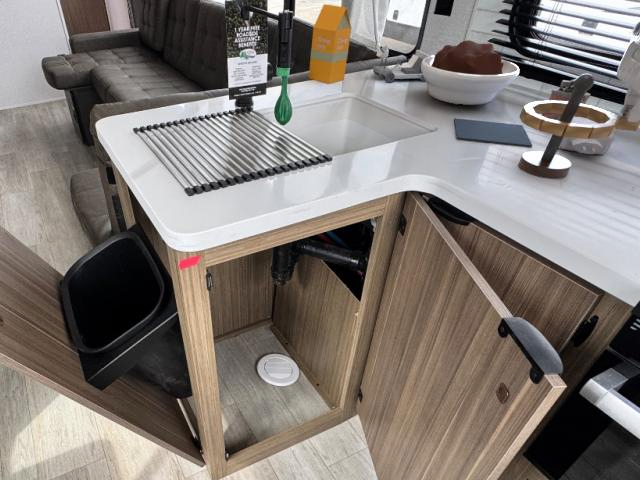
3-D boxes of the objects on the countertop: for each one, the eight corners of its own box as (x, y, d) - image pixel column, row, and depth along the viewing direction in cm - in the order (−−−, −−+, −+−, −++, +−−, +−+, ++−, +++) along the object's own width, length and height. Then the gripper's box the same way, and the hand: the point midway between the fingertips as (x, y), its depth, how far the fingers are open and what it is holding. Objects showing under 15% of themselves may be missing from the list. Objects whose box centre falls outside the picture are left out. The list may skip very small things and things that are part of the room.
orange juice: (323, 74, 146) (331, 3, 133) (344, 79, 141) (355, 6, 128) (308, 78, 142) (315, 5, 129) (329, 84, 137) (338, 8, 124)
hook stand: (561, 163, 92) (608, 70, 80) (571, 181, 86) (625, 82, 74) (515, 157, 94) (554, 66, 82) (521, 175, 88) (565, 78, 76)
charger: (558, 158, 94) (554, 135, 104) (608, 166, 91) (599, 141, 101) (569, 136, 91) (563, 115, 101) (622, 144, 88) (610, 121, 98)
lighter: (538, 121, 112) (556, 79, 105) (539, 118, 114) (558, 76, 107) (574, 128, 108) (595, 84, 101) (575, 124, 110) (596, 81, 104)
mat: (521, 126, 109) (522, 124, 108) (531, 147, 99) (532, 145, 98) (453, 120, 112) (454, 118, 112) (456, 139, 102) (457, 137, 102)
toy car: (383, 48, 132) (370, 40, 140) (376, 83, 138) (364, 73, 147) (439, 47, 133) (423, 39, 142) (430, 81, 140) (415, 72, 148)
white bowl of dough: (456, 84, 137) (473, 29, 127) (526, 107, 120) (551, 45, 110) (394, 94, 129) (407, 36, 119) (459, 120, 112) (481, 54, 102)
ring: (621, 116, 87) (626, 105, 85) (649, 145, 76) (656, 133, 74) (514, 107, 91) (518, 97, 90) (527, 133, 80) (531, 122, 79)
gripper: (732, 45, 63) (671, 140, 72) (674, 22, 78) (629, 103, 87) (680, 43, 65) (627, 136, 74) (633, 21, 79) (593, 100, 88)
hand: (628, 118), depth 80 cm, fingers closed on ring, 1 cm apart
